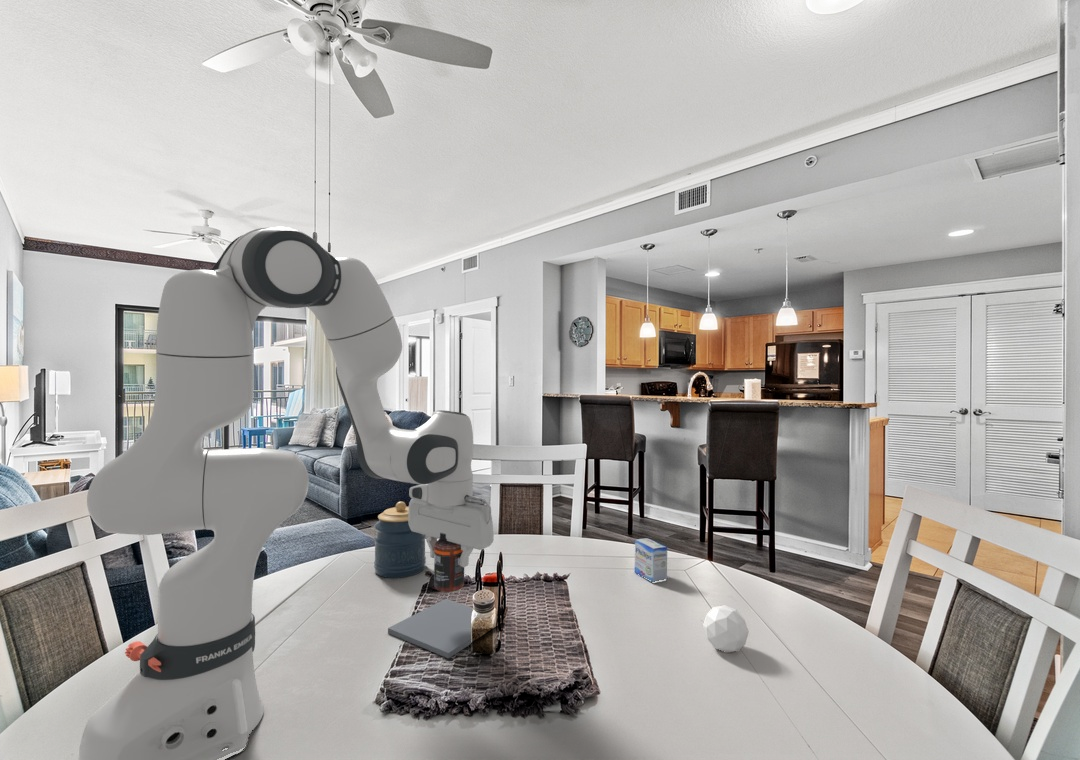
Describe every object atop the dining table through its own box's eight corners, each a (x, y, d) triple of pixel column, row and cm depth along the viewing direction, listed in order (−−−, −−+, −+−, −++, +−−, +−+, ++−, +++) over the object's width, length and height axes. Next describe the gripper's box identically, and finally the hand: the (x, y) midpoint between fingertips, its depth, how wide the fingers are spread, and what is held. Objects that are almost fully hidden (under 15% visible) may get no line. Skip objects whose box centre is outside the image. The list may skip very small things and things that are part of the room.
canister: (374, 563, 135) (375, 497, 135) (423, 558, 139) (424, 494, 139) (373, 581, 123) (374, 509, 123) (427, 575, 126) (428, 505, 126)
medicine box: (633, 573, 129) (634, 539, 129) (648, 570, 131) (648, 537, 131) (653, 584, 122) (653, 548, 122) (667, 581, 124) (667, 546, 124)
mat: (448, 658, 89) (448, 652, 89) (387, 633, 97) (387, 628, 97) (503, 622, 102) (503, 617, 102) (445, 603, 111) (446, 598, 111)
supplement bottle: (467, 581, 102) (468, 526, 102) (459, 594, 96) (460, 536, 96) (439, 579, 103) (440, 524, 103) (429, 592, 97) (430, 534, 97)
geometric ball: (730, 659, 94) (753, 622, 95) (735, 665, 87) (759, 625, 88) (694, 631, 97) (716, 595, 98) (695, 635, 90) (719, 596, 91)
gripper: (501, 497, 96) (500, 568, 96) (426, 482, 108) (425, 546, 108) (479, 503, 91) (478, 579, 91) (403, 487, 102) (402, 555, 102)
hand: (449, 561), depth 99 cm, fingers closed on supplement bottle, 6 cm apart
